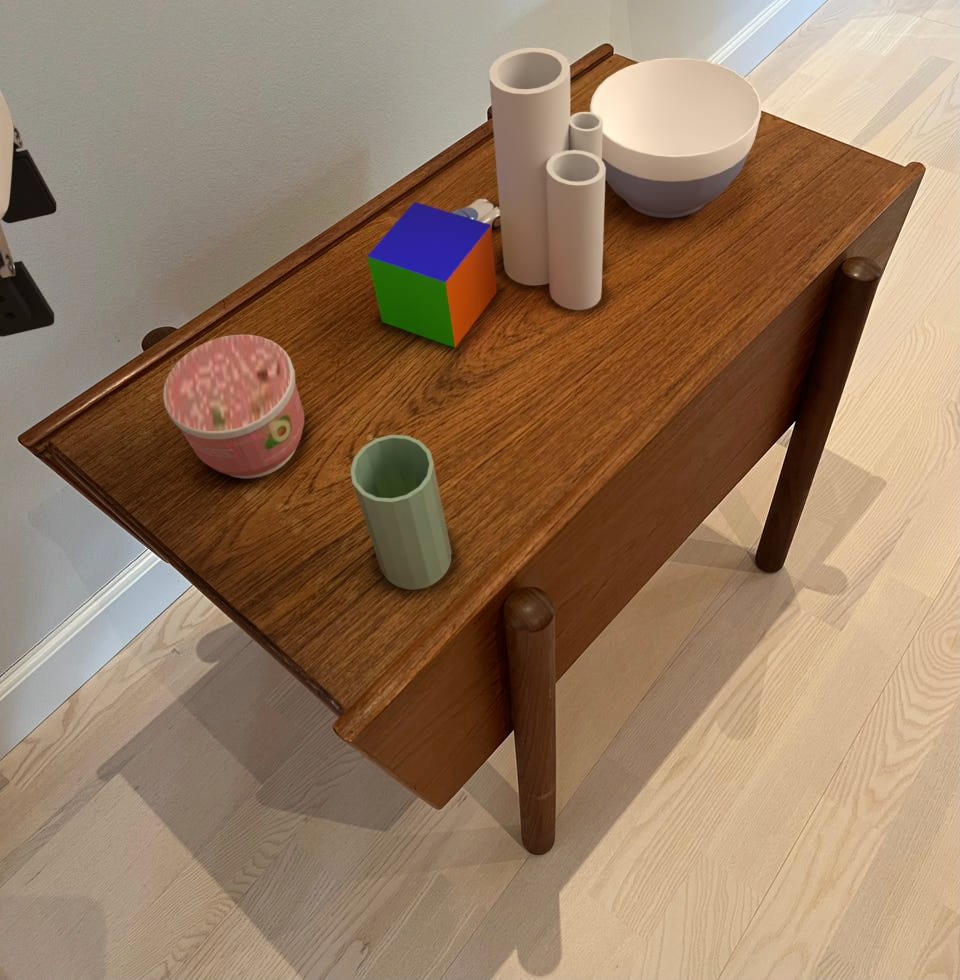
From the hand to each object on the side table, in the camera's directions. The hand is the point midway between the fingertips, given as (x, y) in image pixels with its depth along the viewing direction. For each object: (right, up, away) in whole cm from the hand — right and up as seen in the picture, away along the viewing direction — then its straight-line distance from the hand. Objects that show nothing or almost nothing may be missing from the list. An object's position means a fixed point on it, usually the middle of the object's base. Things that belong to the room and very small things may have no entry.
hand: (29, 268), depth 53 cm
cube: (+22, +5, +36) cm, 42 cm away
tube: (+21, -18, +20) cm, 34 cm away
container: (+6, -9, +28) cm, 30 cm away
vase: (+33, +8, +38) cm, 51 cm away
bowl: (+45, +18, +43) cm, 65 cm away
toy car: (+25, +14, +42) cm, 51 cm away
